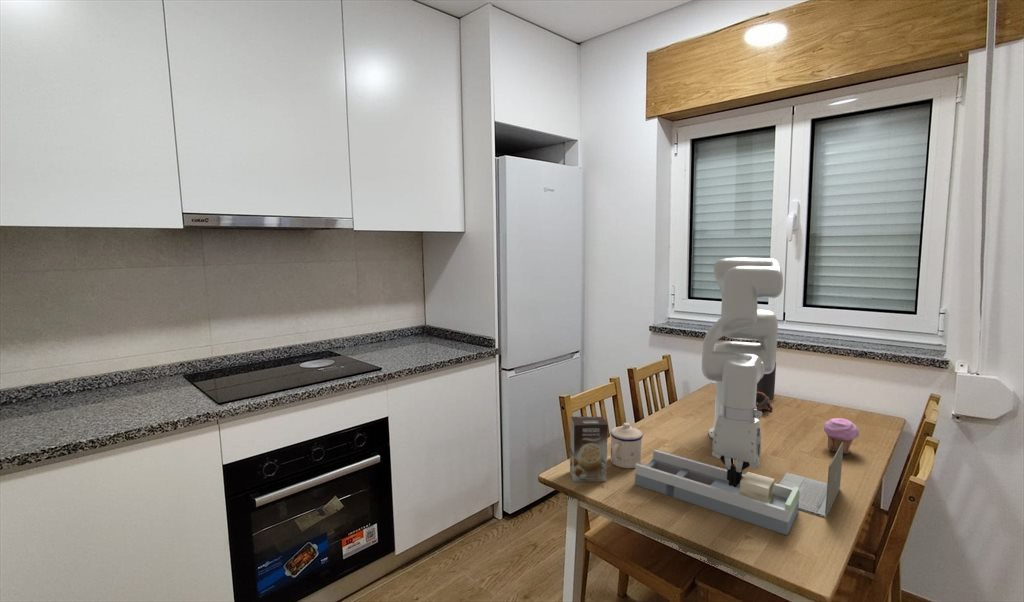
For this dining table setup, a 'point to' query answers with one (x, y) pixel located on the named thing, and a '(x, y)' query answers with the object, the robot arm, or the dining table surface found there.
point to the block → (757, 487)
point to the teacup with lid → (626, 446)
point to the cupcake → (840, 433)
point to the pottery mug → (763, 402)
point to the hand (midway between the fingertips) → (734, 484)
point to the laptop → (817, 488)
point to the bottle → (767, 384)
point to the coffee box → (588, 449)
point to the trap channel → (716, 491)
